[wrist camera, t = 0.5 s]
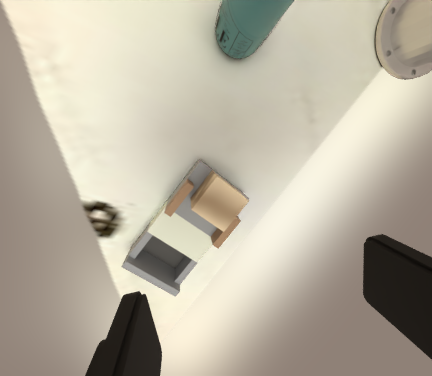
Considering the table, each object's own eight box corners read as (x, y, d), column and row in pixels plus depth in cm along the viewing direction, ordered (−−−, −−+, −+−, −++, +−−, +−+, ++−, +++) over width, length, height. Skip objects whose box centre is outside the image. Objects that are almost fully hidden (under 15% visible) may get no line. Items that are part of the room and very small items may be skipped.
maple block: (212, 170, 29) (217, 176, 25) (239, 191, 31) (249, 200, 26) (190, 198, 30) (191, 209, 25) (217, 217, 31) (223, 232, 26)
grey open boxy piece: (198, 159, 32) (202, 163, 26) (242, 193, 35) (254, 203, 29) (130, 248, 34) (119, 271, 28) (176, 275, 36) (175, 301, 30)
